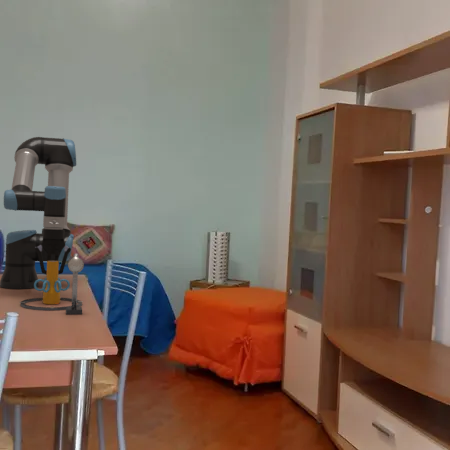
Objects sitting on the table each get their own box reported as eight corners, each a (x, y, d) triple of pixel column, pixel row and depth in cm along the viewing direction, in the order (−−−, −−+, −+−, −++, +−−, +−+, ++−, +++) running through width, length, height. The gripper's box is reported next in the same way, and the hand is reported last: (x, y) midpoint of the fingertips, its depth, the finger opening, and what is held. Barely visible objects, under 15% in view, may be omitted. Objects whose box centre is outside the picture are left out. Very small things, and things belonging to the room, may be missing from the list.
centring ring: (20, 299, 205) (20, 296, 205) (81, 299, 212) (81, 296, 212) (17, 311, 185) (17, 307, 185) (85, 310, 192) (85, 307, 192)
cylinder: (56, 307, 194) (58, 263, 194) (28, 304, 196) (30, 261, 196) (73, 301, 206) (74, 260, 206) (46, 299, 208) (48, 258, 208)
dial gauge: (65, 309, 191) (67, 251, 191) (80, 309, 193) (82, 252, 192) (66, 314, 183) (68, 254, 182) (82, 314, 185) (84, 254, 184)
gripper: (34, 228, 202) (32, 294, 202) (72, 229, 206) (70, 294, 206) (35, 227, 209) (32, 291, 209) (71, 228, 213) (69, 291, 213)
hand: (51, 292), depth 208 cm, fingers closed
